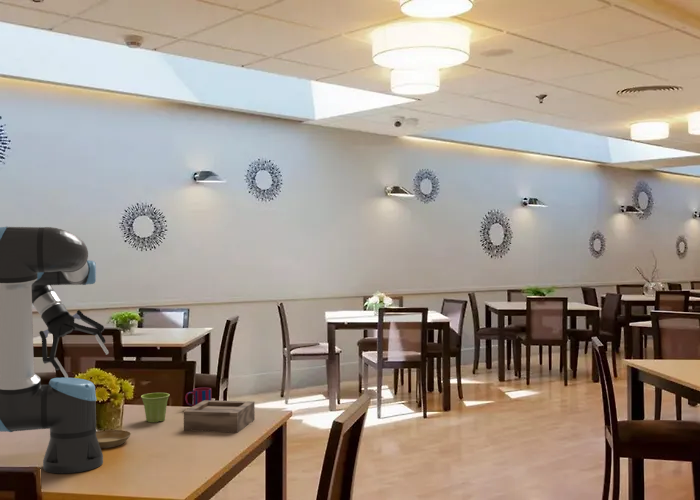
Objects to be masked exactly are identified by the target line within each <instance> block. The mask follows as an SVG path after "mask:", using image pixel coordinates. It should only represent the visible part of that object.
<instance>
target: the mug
mask: <svg viewBox="0 0 700 500" xmlns="http://www.w3.org/2000/svg"><path fill="white" fill-rule="evenodd" d="M190 394H192V404H191V403H189V402H188V401H189V400H188V396H189V395H190ZM184 399H185V403H186V405H188V406H190V407H193V406H194V405H196V404H198V403H200V402H202V401H204V400H212V388H211V387H197V388H193V389H192V391H189V392H187V393H186V394H185V397H184Z"/></svg>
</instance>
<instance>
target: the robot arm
mask: <svg viewBox="0 0 700 500" xmlns="http://www.w3.org/2000/svg"><path fill="white" fill-rule="evenodd" d="M88 250H89V249H88V247H87V246H86V243H85V242H84V241H83V239H81V238H80V237H78V235H76V234H73V233H72V232H70V231H67V230H64V229H61V228H57V227H52V226H44V227H43V226H42V227H41V226H39V227H38V226H37V227H36V226H32V227H31V226H1V227H0V433H4V432H7V433H14V432H21V431H22V432H26V431H35V430H45V429H46V430H47V429H49V441H48V445H47V448H46V451H45V453H44V455H43V460H42V469H43V471H45V472H46V473H51V474H75V473H81V472H87V471H90V470H93V469H96V468H99V467H101V466H102V465H103V464H104V454H103V450H102V448H100V445H99V442H98V439H97V436H96V431H97V414H96V413H97V412H96V410H97V409H96V401H97V396H96V395H97V394H96V386H95V384H94V382H92V381H91V380H88V379H83V378H78V377H77V378H76V377H69V375H68V372H67V371H66V370H65V368H64V367H63V366H62V364H61V362H60V361H59V359H58V357H56V353H57V349H58V344H59V341H60V338H61V337H62V338H63V337H66V336H67V334H71V333H72V332H73V331H80V332H83V333H85V334H86V333H87V334H89V335H93V336H94V337H95V340H96V341H97V343H98V344H99V346H100V347H101V349H102V350H103V352H104V353H105V355H109V353H110V352H109V350H108V349H107V347H106V345H105V343H106V339H105V337H104V336H103V334H102V333H103V332H104V331H105V326H104V325H103V324H101V323H99V322H98V321H95V320H94V319H92V318H90V317H89V316H87V315H85V314H84V313H83V312H82V311H81V310H79V309H78V310H77V311H76V313H74V314H73V315H72V314H70V312H69V311H68V309H67V307H66V306H65V305H64V303H63V301H62V300H61V298H60V297H59V295H58V294H57V292H56V291H55V290H54V288H53V287H52V286H65V285H66V286H70V285H71V286H74V285H75V286H78V285H82V286H86V285H93V284H94V285H95V283H96V282H97V281H96V280H97V266H96V262H95V260H91V259H90V260H88V259H89V251H88ZM33 306H34V308H35V310H36V312H37V313H38V314H39V316H40V317H41V319H42V320H43V322H44V324H45V325H46V327H47V329H45V330H40V331H39V332H38V333H39V336H40V338H41V351H42V353H41V354H42V356H41V357H42V363H44V364H48V363H50V364H51V365H52V366H53V367H54V370H56V371H59V370H60V371H61V373H62V374H63V376H64V377H54V378H51V379H50V380H49V382H48V384H41V377H40V376H39V375H37V373H35V363H34V361H35V358H34V327H33V326H34V324H33ZM75 319H77V320H81V321H83V323H86V324H88V325H89V326H91V327H89V326H86V325H82V324H79V323H76V322H75ZM49 334H51V335H52V336H53V338H52V339H53V340H52V345H51V349H50V353H49V356H48V341H47V338H48V337H49Z"/></svg>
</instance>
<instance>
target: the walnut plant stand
mask: <svg viewBox="0 0 700 500" xmlns="http://www.w3.org/2000/svg"><path fill="white" fill-rule="evenodd" d="M255 412H256V411H255V401H252V400H251V401H243V400H216V399H215V400H213V399H211V400H204V401H202V402H200V403H198V404H196V405H194V406H190V407H189V408H187V409H185V410H184V411H183V431H184V432H187V431H189V432H215V433H217V432H218V433H239V432H240V431H241V430H243V429H245V427H247V426H249V423H250V424H251V423H252V422H254V421H255V416H256V415H255V414H256V413H255ZM253 420H254V421H253Z"/></svg>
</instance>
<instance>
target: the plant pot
mask: <svg viewBox="0 0 700 500" xmlns="http://www.w3.org/2000/svg"><path fill="white" fill-rule="evenodd" d="M169 397H170V393H167V392H151V393H144V394H142V395H141V396H140V398H141V399H142V403H143V408H144V414H145V421H146V422H148V423H158V422H164V421H165V420H166V413H167V404H168V400H169Z"/></svg>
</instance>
